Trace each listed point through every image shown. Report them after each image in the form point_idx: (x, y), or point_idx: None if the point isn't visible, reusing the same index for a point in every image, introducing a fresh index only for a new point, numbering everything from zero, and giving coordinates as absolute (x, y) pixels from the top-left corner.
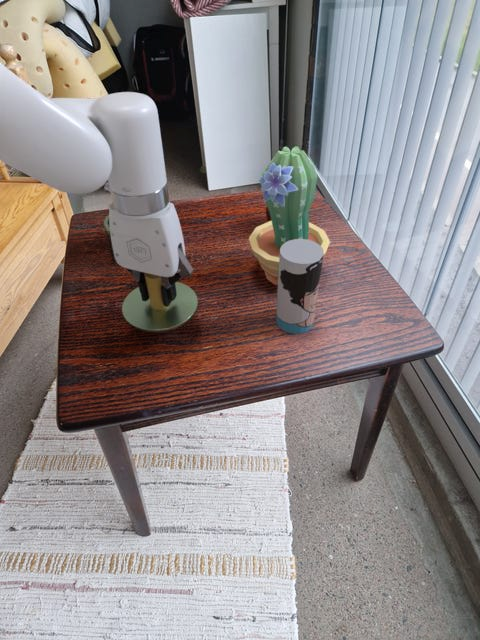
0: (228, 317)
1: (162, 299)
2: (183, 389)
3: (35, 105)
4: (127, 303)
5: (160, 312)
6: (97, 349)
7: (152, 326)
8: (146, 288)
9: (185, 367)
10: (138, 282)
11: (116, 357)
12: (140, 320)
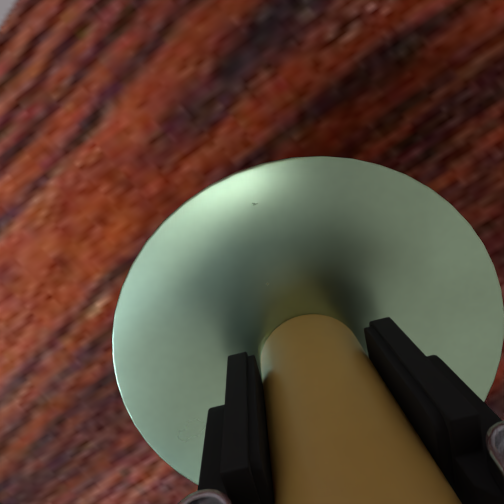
0: (137, 442)
1: (254, 380)
2: (20, 102)
3: None
4: (465, 267)
5: (263, 312)
6: (441, 65)
7: (223, 210)
8: (402, 399)
9: (92, 189)
10: (488, 414)
11: (346, 77)
12: (313, 208)
